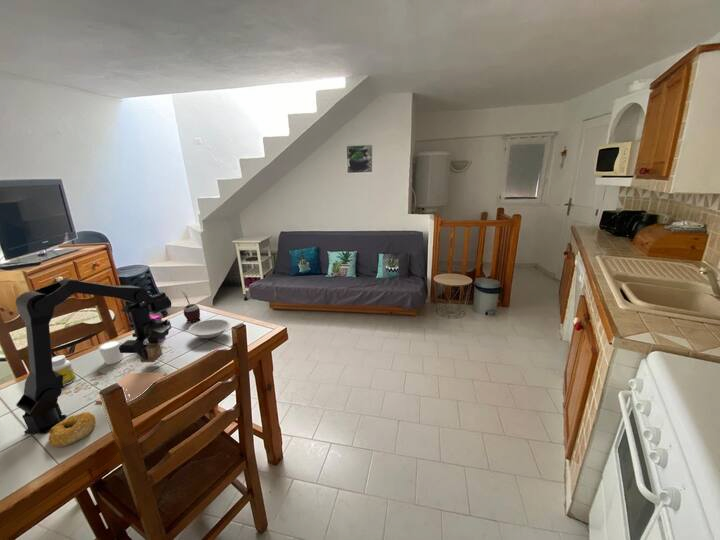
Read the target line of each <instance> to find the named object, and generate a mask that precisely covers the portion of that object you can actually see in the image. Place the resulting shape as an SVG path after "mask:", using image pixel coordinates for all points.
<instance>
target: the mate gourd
mask: <svg viewBox="0 0 720 540" xmlns="http://www.w3.org/2000/svg"><path fill="white" fill-rule="evenodd" d="M181 293H182V294H183V295H184V297H185V300H186V301H187V303H188V304H187V305H186V306H184V308H183V316H184V317H185V319H186V322H187V321H188V322H190V324H191V325H193V324H194V322H201V319H200V317H201V309H200V307H199V305H198V304H195V303H192V304H191V303H190V300H189V299H188V296H187V294H186V293H185V292H184V291H183V290H181Z"/></svg>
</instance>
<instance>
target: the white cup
mask: <svg viewBox="0 0 720 540" xmlns="http://www.w3.org/2000/svg"><path fill="white" fill-rule="evenodd" d="M120 345H122V342H121V340H119V339H118V340H117V339H114V340H109V341H106V342H105V343H102V344H100V345H99V347H98V350H99V352H100V354H101V356H102V358H103V361H104V362H105V364H106V365H113V364H112V363H114V364H116V362H117V363H119V362H120V360H121V361H122V360H123V359H124V353H120V350H119V346H120Z"/></svg>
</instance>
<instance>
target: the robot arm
mask: <svg viewBox="0 0 720 540" xmlns="http://www.w3.org/2000/svg"><path fill="white" fill-rule="evenodd" d="M74 294H83V295H90V296H91V295H93V296H98V297H108V298H115V299H118V300H122V301H124V302H128V303H129V302H130V303H131V304H130V305H129V304H125V305H124V307H122V309H120V312H122V313H125V314H129V317H130V320H131V323H129V327H130V328H133V333H132V335H131V336H132V338H135V339H126V341H124V342H123V343H121V345H120V346H119V350H120V353H123V354H137V355H138V357H139V356H140V357H142V358H143V359H144V360H147V359H148V355H147V350H146V347H147V346H148V345H149V344H145V341H144V340H146V339H147V340H148V342H149V343H160V342H159V339H163V338H164V337H165V338H166V336H168V335H169V332H170V330H171V329H172V326H171V325H172V323H171V321H170V320H168V319H165V320H162V321H155V319H154V318H151V317H150V315H151V314H153V315H156V314H158V313H160V312H163V311H165V310H167V309H170V308H171V307H172V301H171V300H170V298H169V297H168V296H167V294H166V292H162V291H160V292H158V293H157V294H153V295H150V294H149V293H148V291H147V289H146V288H143V287H140V286H136V285H109V284H103V283H102V284H101V283H95V282H89V281H83V280H78V279H73V278H67V277H66V278H63V279H61V280H59V281H57V282H54V283H51V284H47V285H46V286H42V287H40V288H38V289H36V290H33V291H26V292H23V293H22V294H19V296H18V297H16V300H15V306H16V309H17V312H18V314H19V316H20V318H21V320H22V321H23V323H24V324H25V329H26V330H25V331H26V332H25V333H26V342H27V355H28V366H29V374H28V376H27V378H26V379H25V382H24V388H23V394H22V396H21V397H20V399H19V400H18V402H16V404H15V406H16V407H17V408H19V409H21V410H22V411H23V412H24V414H23V415H22V419H23V421H24V422H25V426H26V428H27V429H26V430H24V431H23V433H24V434H31V435H32V434H36V435H37V434H39V435H40V434H41V435H44V434H48V433H49V432H50V430H51V428H52V427H53V426H55V425H56V424H58V423H60V422H62V421H63V420H65V419H67V418H68V417H67V414H63V412H62V410H61V407H60V405H59V403H58V400H59V397H60V396H61V395H62V392H63V391H62V390H63V389H65V388H66V387H65V385H64V386H63V375H62V374H60V373H58V372H55V371H53V368H52V358H53V357H52V345H51V332H50V322H51V321H52V319H53V317H54V313H55V309H56V306H58V305H59V304H61V303H64V302H65V301H67V299H69V297H71V296H72V295H74ZM132 303H133V304H132ZM150 313H151V314H150Z"/></svg>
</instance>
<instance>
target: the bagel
mask: <svg viewBox="0 0 720 540" xmlns="http://www.w3.org/2000/svg"><path fill="white" fill-rule="evenodd" d="M96 422H97V421H96V416H95V415H94V414H93V413H91V412H89V411H87V412H85V411H83V412H81V413H80V414H79V413H78V414H75V415H70V416H69V417H66V418H64V419H63V420H62V421H61V422H59V423H58V424H56V425H55V426H53V427H52V428H51V430H50V431H48V433H49V436H48V442H49V444H50V445H51V446H52V447H53V448H54V447H55V448H56V447H65V446H68V445H71V444H73V443H76V442H78V441H79V440H81V439H82V438H83V439H84V438H85V437H86V436H89V434H90V433H91V432H92V431H93V430H94V428H95V425H96Z"/></svg>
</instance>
